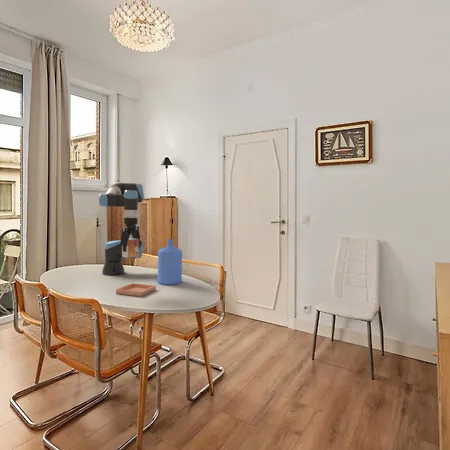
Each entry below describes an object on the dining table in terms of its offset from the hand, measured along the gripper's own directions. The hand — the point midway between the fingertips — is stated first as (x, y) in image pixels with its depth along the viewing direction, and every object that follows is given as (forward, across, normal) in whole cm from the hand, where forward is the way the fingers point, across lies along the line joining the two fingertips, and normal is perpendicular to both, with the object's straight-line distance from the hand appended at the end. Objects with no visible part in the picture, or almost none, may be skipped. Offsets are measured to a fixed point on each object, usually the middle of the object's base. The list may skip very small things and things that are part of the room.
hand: (130, 256), depth 191 cm
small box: (+1, 0, 0) cm, 1 cm away
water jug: (+20, +28, -11) cm, 36 cm away
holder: (+20, 0, -4) cm, 21 cm away
